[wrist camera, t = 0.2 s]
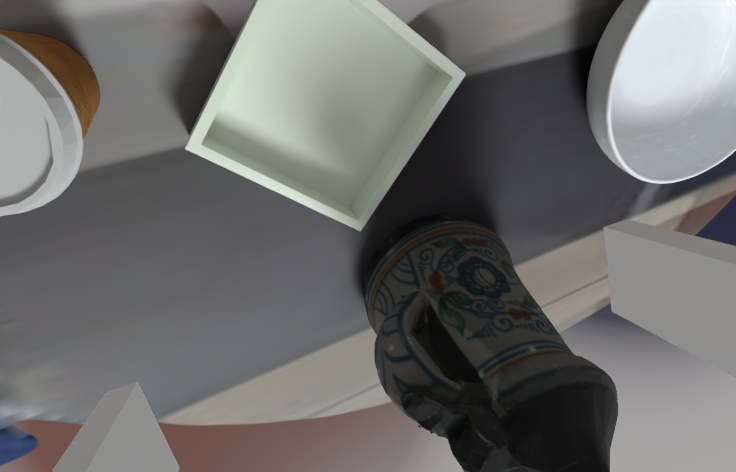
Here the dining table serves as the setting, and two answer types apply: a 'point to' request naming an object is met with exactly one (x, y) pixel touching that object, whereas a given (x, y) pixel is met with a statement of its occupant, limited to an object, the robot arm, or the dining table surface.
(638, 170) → the serving bowl
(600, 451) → the beer stein
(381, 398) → the dining table surface
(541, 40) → the dining table surface
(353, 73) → the tray
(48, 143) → the disposable coffee cup
